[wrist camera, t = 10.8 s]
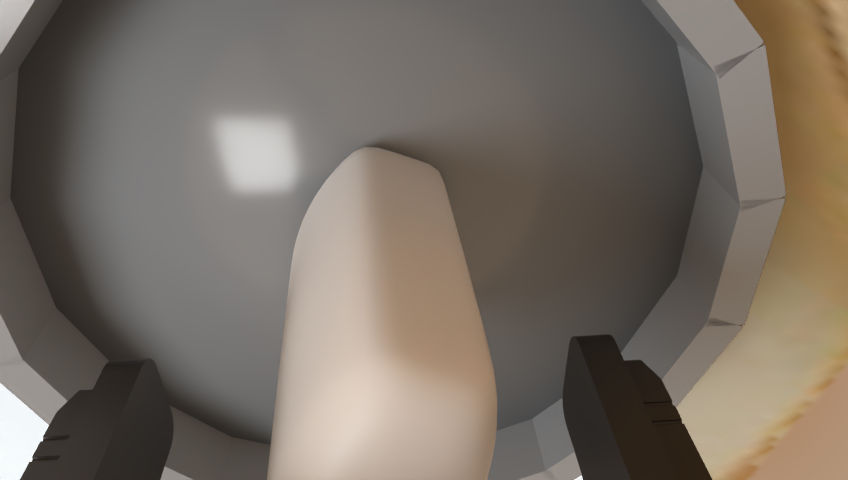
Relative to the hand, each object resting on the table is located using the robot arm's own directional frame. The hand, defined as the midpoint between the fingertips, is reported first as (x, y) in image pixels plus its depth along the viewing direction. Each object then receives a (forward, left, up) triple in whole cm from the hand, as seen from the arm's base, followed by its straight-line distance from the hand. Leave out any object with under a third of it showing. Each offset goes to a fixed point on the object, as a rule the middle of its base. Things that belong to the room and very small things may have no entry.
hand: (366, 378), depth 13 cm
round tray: (0, 0, -6) cm, 6 cm away
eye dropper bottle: (0, 0, -5) cm, 5 cm away
